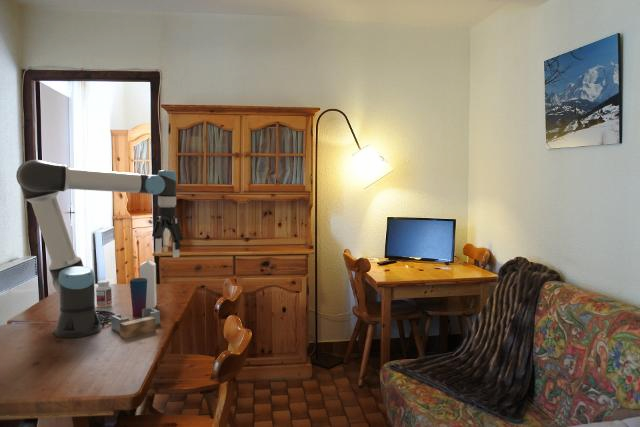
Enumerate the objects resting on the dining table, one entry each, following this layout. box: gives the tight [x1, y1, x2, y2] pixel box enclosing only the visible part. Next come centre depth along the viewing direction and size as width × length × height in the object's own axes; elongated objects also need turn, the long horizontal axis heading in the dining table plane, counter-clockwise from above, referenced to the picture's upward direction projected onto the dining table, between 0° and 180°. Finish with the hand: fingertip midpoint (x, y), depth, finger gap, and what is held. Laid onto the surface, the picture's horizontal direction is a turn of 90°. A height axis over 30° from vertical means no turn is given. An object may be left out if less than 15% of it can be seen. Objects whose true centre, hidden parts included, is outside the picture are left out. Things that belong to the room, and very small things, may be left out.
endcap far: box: [141, 308, 161, 326], centre depth 196 cm, size 4×7×5 cm, turn 47°
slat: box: [119, 316, 156, 339], centre depth 183 cm, size 12×4×5 cm, turn 138°
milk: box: [139, 256, 157, 309], centre depth 218 cm, size 6×6×22 cm
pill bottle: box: [95, 279, 113, 308], centre depth 219 cm, size 6×6×11 cm
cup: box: [129, 277, 147, 318], centre depth 206 cm, size 7×7×15 cm
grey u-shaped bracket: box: [110, 313, 130, 334], centre depth 187 cm, size 4×7×5 cm, turn 47°
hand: (167, 255), depth 215 cm, fingers open, 13 cm apart
